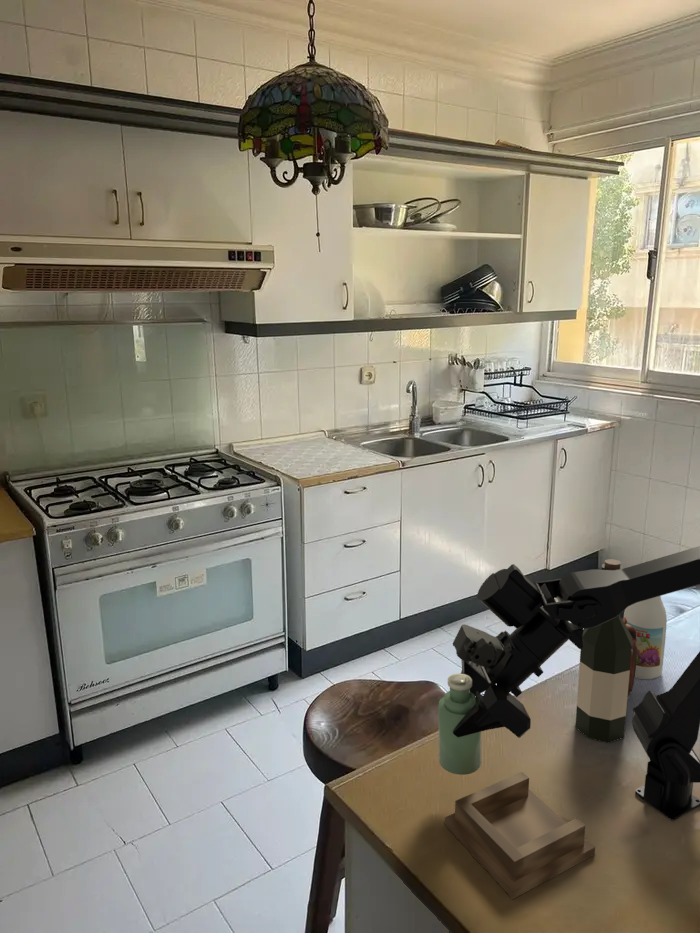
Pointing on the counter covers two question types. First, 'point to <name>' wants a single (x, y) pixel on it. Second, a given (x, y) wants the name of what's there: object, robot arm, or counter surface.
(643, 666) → the milk bottle
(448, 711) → the green bottle
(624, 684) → the wine bottle
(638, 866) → the counter surface
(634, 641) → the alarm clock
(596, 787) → the counter surface
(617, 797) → the counter surface
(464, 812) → the bottle rest
